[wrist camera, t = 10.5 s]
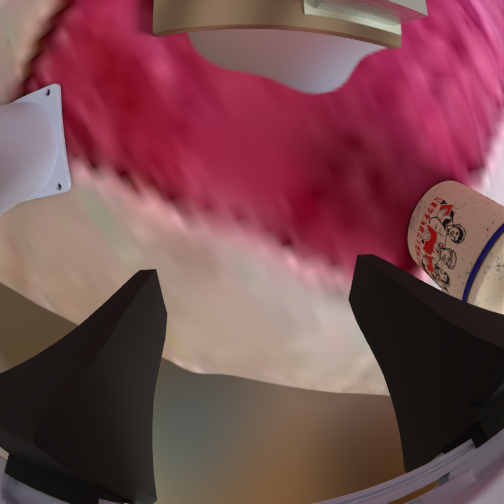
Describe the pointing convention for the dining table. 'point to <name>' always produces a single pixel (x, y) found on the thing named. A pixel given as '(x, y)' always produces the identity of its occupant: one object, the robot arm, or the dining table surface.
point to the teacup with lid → (461, 243)
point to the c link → (377, 9)
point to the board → (268, 19)
